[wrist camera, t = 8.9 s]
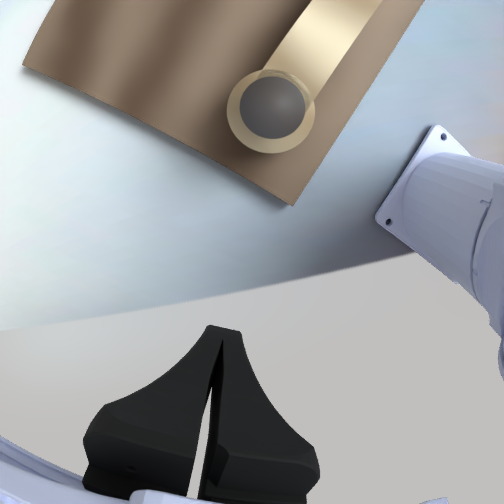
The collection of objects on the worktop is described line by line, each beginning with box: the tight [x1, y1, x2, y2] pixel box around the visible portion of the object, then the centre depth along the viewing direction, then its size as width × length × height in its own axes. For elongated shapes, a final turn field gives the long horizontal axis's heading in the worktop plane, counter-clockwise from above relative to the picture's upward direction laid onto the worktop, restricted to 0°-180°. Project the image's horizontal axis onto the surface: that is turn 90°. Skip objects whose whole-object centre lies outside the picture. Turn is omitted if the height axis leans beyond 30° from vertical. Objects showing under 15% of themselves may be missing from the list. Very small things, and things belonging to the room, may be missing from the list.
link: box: [227, 0, 382, 153], centre depth 13 cm, size 18×4×4 cm, turn 149°
